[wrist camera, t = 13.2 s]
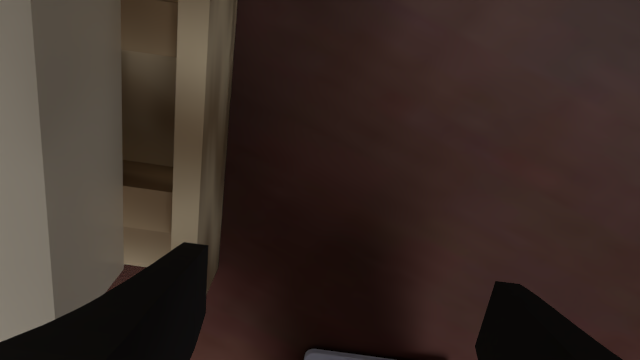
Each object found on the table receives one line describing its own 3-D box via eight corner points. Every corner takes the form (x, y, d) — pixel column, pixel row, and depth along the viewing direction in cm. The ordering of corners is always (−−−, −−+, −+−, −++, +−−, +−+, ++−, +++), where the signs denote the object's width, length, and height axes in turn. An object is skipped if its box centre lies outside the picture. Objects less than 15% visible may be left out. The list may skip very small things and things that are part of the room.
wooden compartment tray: (218, 267, 23) (192, 325, 19) (18, 240, 23) (-51, 292, 19) (244, -92, 18) (215, -121, 14) (-20, -133, 18) (-132, -175, 13)
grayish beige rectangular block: (123, 269, 20) (57, 352, 15) (40, 257, 19) (-53, 337, 15) (119, -79, 15) (21, -115, 10) (9, -95, 15) (-140, -140, 10)
